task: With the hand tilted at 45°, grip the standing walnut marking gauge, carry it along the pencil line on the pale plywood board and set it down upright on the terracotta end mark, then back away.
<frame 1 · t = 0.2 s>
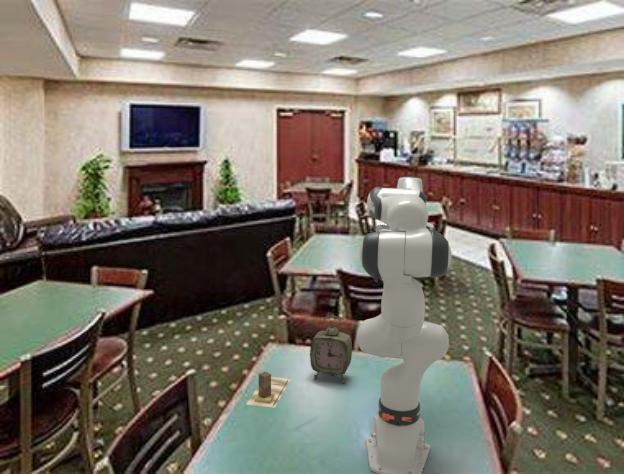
hand: (404, 265, 177), 48 cm above the table, tool pointing down, fingers open, 8 cm apart
plywood board: (269, 395, 185), on the table
tabletop clock: (331, 378, 199), on the table
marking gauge: (264, 398, 180), point 1 cm above the table, touching plywood board
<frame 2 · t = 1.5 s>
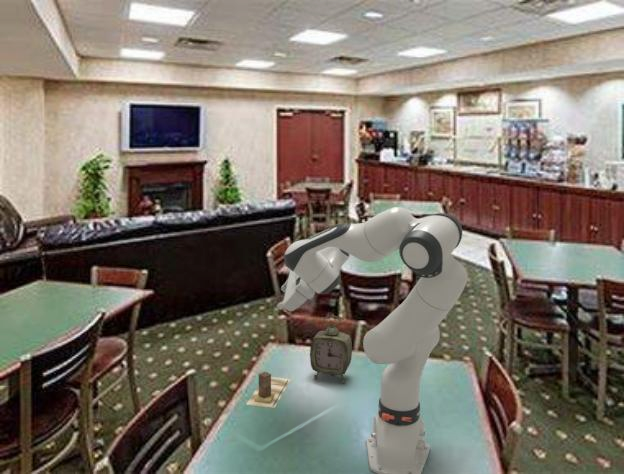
hand: (280, 298, 176), 37 cm above the table, tool tilted 50°, fingers open, 8 cm apart
nothing on the table moved.
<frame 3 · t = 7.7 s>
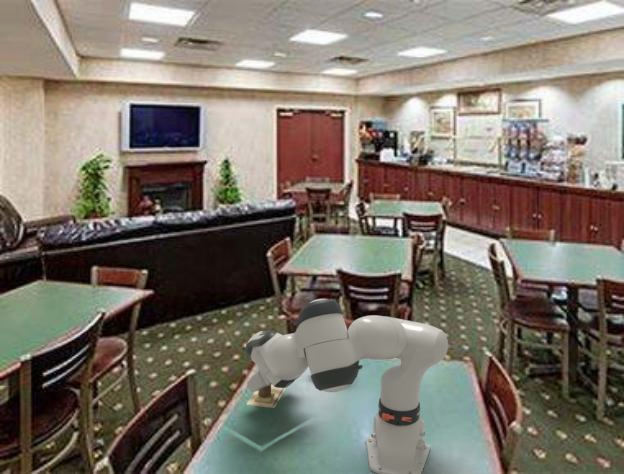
hand: (263, 385, 179), 6 cm above the table, tool tilted 45°, fingers closed on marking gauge, 3 cm apart
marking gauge: (264, 398, 180), point 2 cm above the table, touching gripper, plywood board
everything else where it was.
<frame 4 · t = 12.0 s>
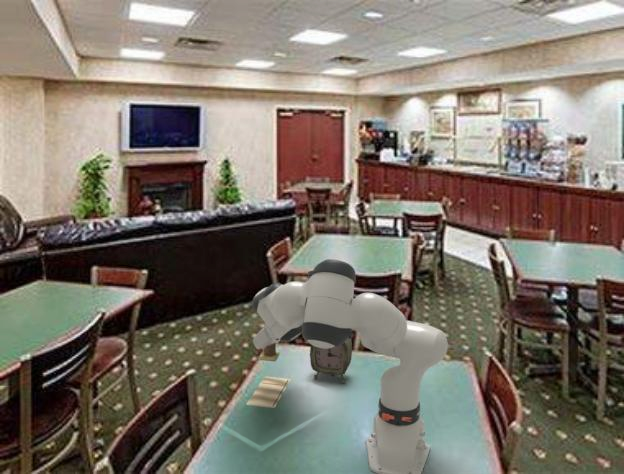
hand: (268, 344, 184), 18 cm above the table, tool tilted 45°, fingers closed on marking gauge, 3 cm apart
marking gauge: (269, 357, 184), point 14 cm above the table, touching gripper
everything else where it was.
when the fingers open (7 cm above the table, at t = 16.5 s): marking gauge drops 1 cm, resting on plywood board.
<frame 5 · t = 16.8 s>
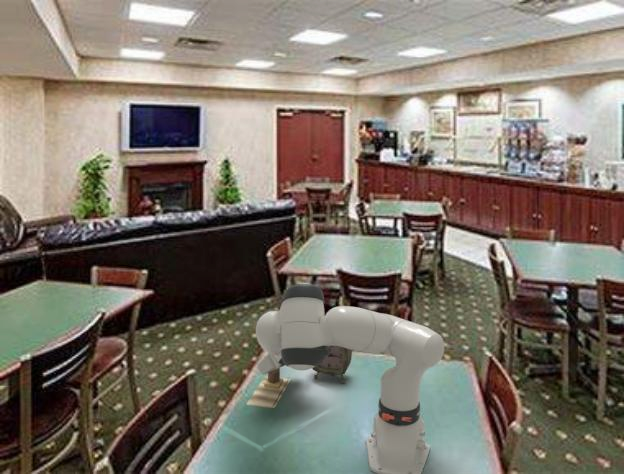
hand: (272, 368, 190), 7 cm above the table, tool tilted 45°, fingers open, 6 cm apart
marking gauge: (273, 384, 190), point 2 cm above the table, touching plywood board
everything else where it was.
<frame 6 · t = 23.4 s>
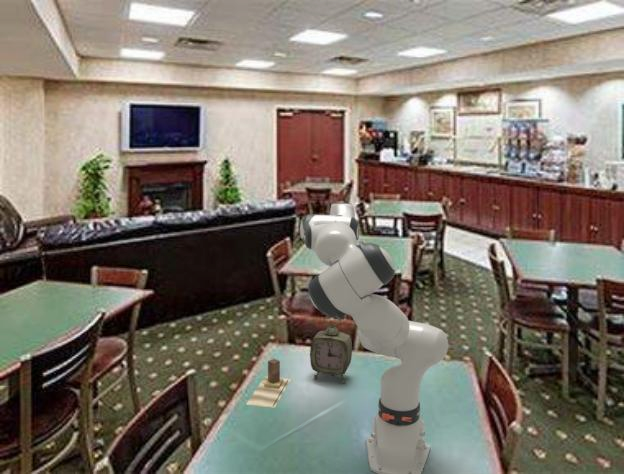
hand: (340, 290, 178), 39 cm above the table, tool pointing down, fingers open, 8 cm apart
nothing on the table moved.
at the end: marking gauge 0.0 cm from the target spot, point 1.5 cm above the table; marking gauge tilted 0°; the gripper is holding nothing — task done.
